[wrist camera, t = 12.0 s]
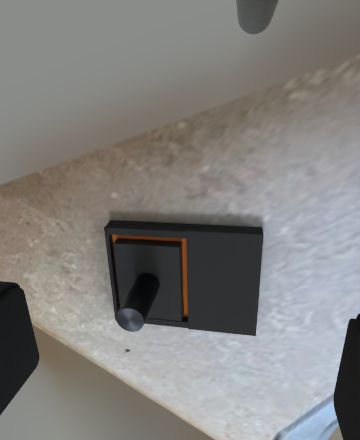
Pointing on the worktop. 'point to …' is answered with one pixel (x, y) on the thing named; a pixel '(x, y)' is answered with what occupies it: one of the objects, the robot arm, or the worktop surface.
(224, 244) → the base pad
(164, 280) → the black pad
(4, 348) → the robot arm
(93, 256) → the worktop surface
